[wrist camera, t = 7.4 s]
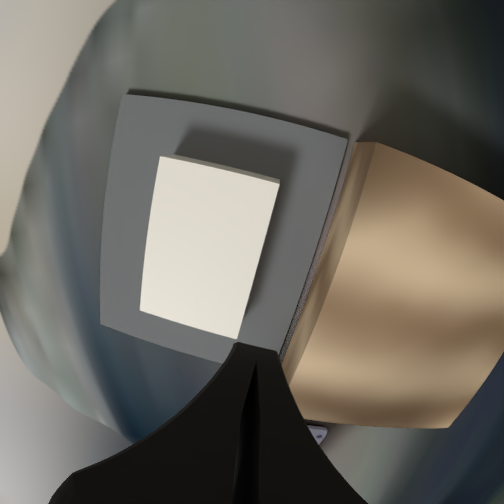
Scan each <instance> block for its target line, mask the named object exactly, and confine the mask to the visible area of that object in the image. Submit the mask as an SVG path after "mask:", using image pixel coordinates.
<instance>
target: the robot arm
mask: <svg viewBox="0 0 504 504" xmlns="http://www.w3.org/2000/svg"><path fill="white" fill-rule="evenodd" d="M326 434H327V428H325V427H318V426H311V425H307V424H306V422H305V420H304V418H303V416H302V414H301V412H300V410H299V408H298V406H297V404H296V402H295V399H294V397H293V395H292V392H291V390H290V387H289V385H288V382H287V380H286V377H285V374H284V371H283V368H282V365H281V362H280V358H279V355H278V353H277V351H275V350H270V349H266V348H262V347H257V346H253V345H249V344H245V343H241V342H236V343H234V344H233V347H232V349H231V351H230V353H229V355H228V357H227V358H226V360H225V361H224V363H223V364H222V366H221V367H220V368H219V370H218V371H217V372H216V374H215V375H214V376H213V377H212V379H211V380H210V381H209V382H208V383H207V385H206V386H205V387H204V388H203V389H202V390H201V391H200V392H199V393H198V394H197V395H196V396H195V397H194V398H193V399H192V400H191V401H190V402H189V403H188V404H187V405H186V406H185V407H184V408H183V409H182V410H180V411H179V412H178V413H177V414H176V415H175V416H173V417H172V418H171V419H170V420H168V421H167V422H166V423H164V424H163V425H162V426H160V427H159V428H158V429H156V430H155V431H154V432H152V433H151V434H149V435H148V436H146V437H145V438H143V439H141V440H140V441H138V442H136V443H135V444H133V445H131V446H129V447H128V448H126V449H124V450H123V451H121V452H119V453H117V454H115V455H113V456H111V457H109V458H107V459H105V460H102V461H100V462H98V463H95V464H93V465H91V466H88V467H86V468H83V469H81V470H78V471H76V472H74V473H72V474H71V475H70V476H69V477H68V478H67V479H66V480H65V481H64V482H63V483H62V484H61V486H60V487H59V488H58V489H57V491H56V492H55V493H54V495H53V496H52V498H51V499H50V502H49V504H368V503H367V502H366V501H365V500H364V499H363V498H362V497H361V496H360V495H359V494H358V493H357V492H356V491H355V490H354V489H353V488H352V487H351V486H350V485H349V484H348V482H347V481H346V480H345V479H344V478H343V477H342V475H341V474H340V473H339V472H338V471H337V470H336V468H335V467H334V466H333V464H332V463H331V462H330V460H329V459H328V458H327V456H326V455H325V453H324V452H323V450H322V449H321V447H320V446H319V444H320V443H321V441H322V440H323V439H324V437H325V436H326Z"/></svg>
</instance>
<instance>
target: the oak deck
mask: <svg viewBox="0 0 504 504" xmlns="http://www.w3.org/2000/svg"><path fill="white" fill-rule="evenodd" d="M503 352H504V201H503V200H502V199H500V198H498V197H496V196H495V195H493V194H491V193H489V192H487V191H485V190H484V189H482V188H480V187H478V186H476V185H474V184H472V183H470V182H468V181H466V180H464V179H462V178H460V177H458V176H456V175H454V174H452V173H450V172H448V171H445V170H443V169H441V168H439V167H437V166H434V165H432V164H430V163H428V162H425V161H423V160H421V159H418V158H416V157H414V156H411V155H409V154H406V153H404V152H401V151H399V150H396V149H394V148H391V147H389V146H386V145H383V144H381V143H378V142H355V144H354V148H353V152H352V155H351V159H350V163H349V166H348V170H347V173H346V177H345V180H344V184H343V187H342V191H341V194H340V197H339V201H338V204H337V207H336V211H335V214H334V217H333V220H332V224H331V227H330V230H329V233H328V236H327V239H326V242H325V245H324V249H323V252H322V255H321V258H320V261H319V264H318V267H317V269H316V272H315V275H314V278H313V281H312V284H311V287H310V290H309V292H308V295H307V298H306V301H305V304H304V306H303V309H302V312H301V315H300V317H299V320H298V323H297V325H296V328H295V331H294V333H293V336H292V338H291V341H290V344H289V346H288V349H287V351H286V354H285V356H284V359H283V362H282V364H281V365H282V368H283V371H284V374H285V377H286V380H287V382H288V385H289V387H290V390H291V392H292V395H293V397H294V399H295V402H296V404H297V406H298V408H299V410H300V412H301V414H302V416H303V418H304V419H309V420H316V421H323V422H331V423H340V424H349V425H360V426H374V427H392V428H448V427H449V426H450V425H451V424H452V422H453V421H454V420H455V419H456V418H457V416H458V415H459V414H460V413H461V411H462V410H463V409H464V408H465V406H466V405H467V404H468V403H469V401H470V400H471V399H472V397H473V396H474V395H475V393H476V392H477V391H478V389H479V388H480V386H481V385H482V384H483V382H484V381H485V379H486V378H487V376H488V375H489V374H490V372H491V371H492V369H493V368H494V366H495V364H496V363H497V361H498V360H499V358H500V357H501V355H502V353H503Z"/></svg>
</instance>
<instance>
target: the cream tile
mask: <svg viewBox="0 0 504 504" xmlns="http://www.w3.org/2000/svg"><path fill="white" fill-rule="evenodd" d="M279 185H280V179H276V178H272V177H269V176H265V175H261V174H257V173H253V172H249V171H245V170H241V169H237V168H233V167H229V166H224V165H220V164H216V163H211V162H207V161H202V160H198V159H193V158H188V157H183V156H179V155H174V154H173V155H165V156H160V159H159V165H158V170H157V175H156V181H155V187H154V193H153V199H152V205H151V212H150V219H149V226H148V233H147V241H146V249H145V258H144V267H143V277H142V288H141V300H140V311H143V312H146V313H149V314H152V315H155V316H159V317H162V318H165V319H168V320H171V321H174V322H178V323H181V324H184V325H187V326H191V327H194V328H198V329H201V330H204V331H208V332H212V333H215V334H219V335H222V336H226V337H230V338H233V339H237V337H238V334H239V330H240V327H241V323H242V319H243V316H244V312H245V309H246V305H247V302H248V298H249V294H250V291H251V287H252V284H253V280H254V276H255V273H256V269H257V265H258V262H259V258H260V255H261V251H262V247H263V244H264V240H265V236H266V233H267V229H268V225H269V222H270V218H271V214H272V211H273V207H274V203H275V200H276V196H277V192H278V188H279Z"/></svg>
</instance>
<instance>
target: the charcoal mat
mask: <svg viewBox="0 0 504 504" xmlns="http://www.w3.org/2000/svg"><path fill="white" fill-rule="evenodd" d="M347 141H348V139H345V138H342V137H339V136H336V135H333V134H329V133H326V132H323V131H319V130H316V129H312V128H309V127H305V126H302V125H298V124H294V123H290V122H287V121H283V120H279V119H275V118H270V117H266V116H262V115H257V114H253V113H248V112H244V111H239V110H234V109H229V108H224V107H218V106H213V105H207V104H201V103H195V102H188V101H181V100H174V99H166V98H158V97H149V96H139V95H128V94H122V98H121V103H120V107H119V112H118V117H117V122H116V127H115V132H114V138H113V144H112V150H111V156H110V163H109V170H108V177H107V185H106V194H105V203H104V214H103V226H102V241H101V263H100V321H101V324H102V325H104V326H107V327H110V328H112V329H115V330H118V331H120V332H123V333H126V334H129V335H131V336H134V337H137V338H140V339H143V340H146V341H149V342H152V343H155V344H158V345H161V346H164V347H167V348H170V349H173V350H177V351H180V352H183V353H186V354H190V355H193V356H197V357H200V358H204V359H207V360H211V361H215V362H218V363H222V364H223V363H224V361H225V360H226V358H227V357H228V355H229V353H230V351H231V349H232V347H233V344H234V343H236V342H241V343H245V344H249V345H253V346H257V347H262V348H266V349H270V350H275V351H277V353H278V355H279V353H280V350H281V347H282V345H283V342H284V339H285V337H286V334H287V331H288V329H289V326H290V323H291V320H292V318H293V315H294V312H295V309H296V306H297V304H298V301H299V298H300V295H301V292H302V289H303V286H304V283H305V280H306V277H307V274H308V271H309V268H310V265H311V262H312V259H313V256H314V253H315V250H316V247H317V244H318V241H319V238H320V234H321V231H322V228H323V225H324V222H325V218H326V215H327V212H328V208H329V205H330V202H331V198H332V195H333V192H334V188H335V185H336V181H337V178H338V174H339V171H340V167H341V163H342V160H343V156H344V152H345V149H346V145H347ZM173 154H174V155H179V156H183V157H188V158H193V159H198V160H202V161H207V162H211V163H216V164H220V165H224V166H229V167H233V168H237V169H241V170H245V171H249V172H253V173H257V174H261V175H265V176H269V177H272V178H276V179H280V185H279V188H278V192H277V196H276V200H275V203H274V207H273V211H272V214H271V218H270V222H269V225H268V229H267V233H266V236H265V240H264V244H263V247H262V251H261V255H260V258H259V262H258V265H257V269H256V273H255V276H254V280H253V284H252V287H251V291H250V294H249V298H248V302H247V305H246V309H245V312H244V316H243V319H242V323H241V327H240V330H239V334H238V337H237V339H233V338H230V337H226V336H222V335H219V334H215V333H212V332H208V331H204V330H201V329H198V328H194V327H191V326H187V325H184V324H181V323H178V322H174V321H171V320H168V319H165V318H162V317H159V316H155V315H152V314H149V313H146V312H143V311H140V300H141V288H142V277H143V267H144V258H145V249H146V241H147V233H148V226H149V219H150V212H151V205H152V199H153V193H154V187H155V181H156V175H157V170H158V165H159V159H160V156H165V155H173Z"/></svg>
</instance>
